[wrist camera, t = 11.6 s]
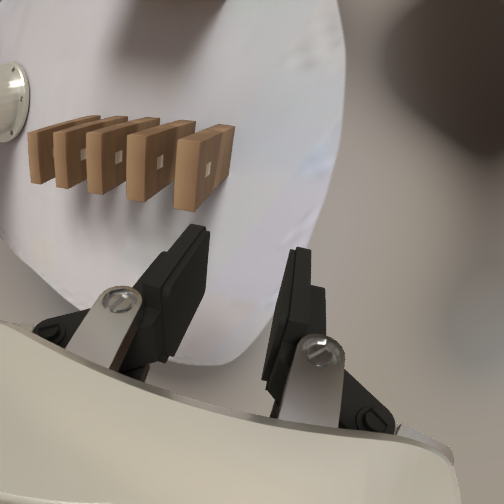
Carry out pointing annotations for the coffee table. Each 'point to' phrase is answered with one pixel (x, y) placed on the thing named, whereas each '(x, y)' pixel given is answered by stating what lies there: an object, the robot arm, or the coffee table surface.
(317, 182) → the coffee table surface
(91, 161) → the domino
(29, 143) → the domino
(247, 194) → the coffee table surface
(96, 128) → the domino
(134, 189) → the domino
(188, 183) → the domino
